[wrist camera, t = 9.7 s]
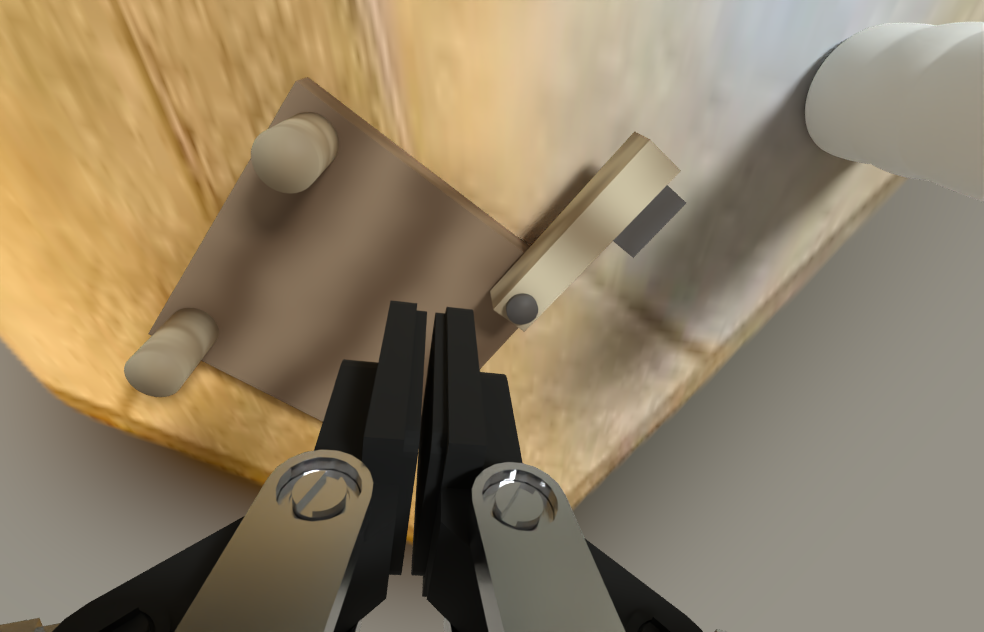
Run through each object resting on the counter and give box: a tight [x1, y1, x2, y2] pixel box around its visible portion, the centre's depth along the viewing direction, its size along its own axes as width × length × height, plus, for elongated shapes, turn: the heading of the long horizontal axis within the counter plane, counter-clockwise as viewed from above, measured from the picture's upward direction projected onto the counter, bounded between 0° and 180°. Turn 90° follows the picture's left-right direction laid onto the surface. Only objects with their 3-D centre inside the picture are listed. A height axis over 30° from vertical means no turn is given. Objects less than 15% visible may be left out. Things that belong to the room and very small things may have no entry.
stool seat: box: [124, 77, 686, 422], centre depth 29 cm, size 19×26×8 cm
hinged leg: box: [490, 132, 680, 332], centre depth 28 cm, size 12×2×3 cm, turn 140°
